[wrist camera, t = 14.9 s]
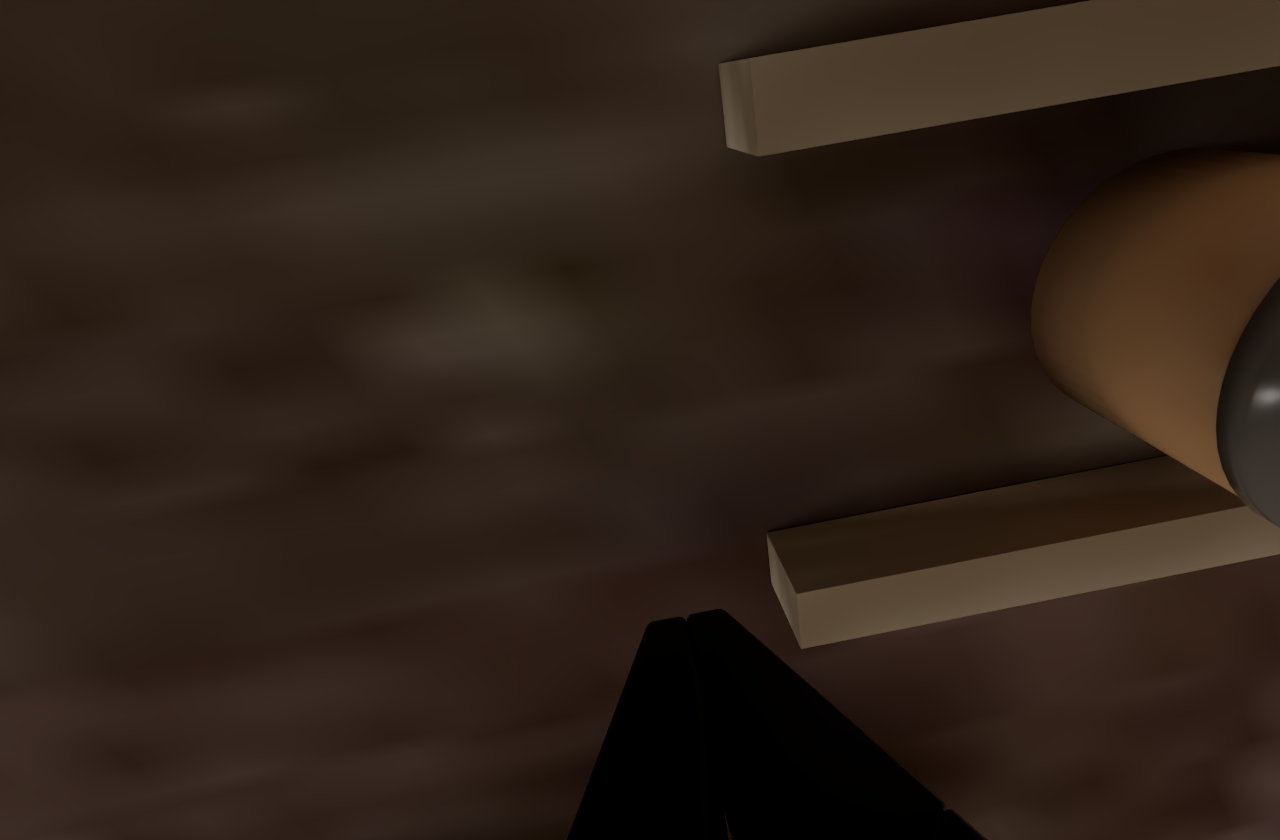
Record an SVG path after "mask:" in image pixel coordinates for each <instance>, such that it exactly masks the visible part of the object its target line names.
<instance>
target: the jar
mask: <svg viewBox="0 0 1280 840" xmlns="http://www.w3.org/2000/svg"><path fill="white" fill-rule="evenodd" d="M1031 333H1032V339H1033V344H1034V349H1035V351H1036V354H1037V357H1038V360H1039V362H1040V364H1041V366H1042V368H1043V370H1044V372H1045V373H1046V375H1047V376H1048V377H1049V379H1050V380H1051V381H1052V382H1053V384H1054V385H1055V386H1056V387H1057V388H1058V389H1060V390H1061V391H1062V392H1063V393H1064V394H1065V395H1067V396H1069V397H1070V398H1072V399H1073V400H1075V401H1077V402H1078V403H1080V404H1082V405H1083V406H1085V407H1087V408H1088V409H1090V410H1092V411H1094V412H1095V413H1097V414H1099V415H1100V416H1102V417H1104V418H1106V419H1107V420H1109V421H1111V422H1112V423H1114V424H1116V425H1117V426H1119V427H1121V428H1123V429H1124V430H1126V431H1128V432H1129V433H1131V434H1133V435H1135V436H1136V437H1138V438H1140V439H1141V440H1143V441H1145V442H1146V443H1148V444H1150V445H1152V446H1153V447H1155V448H1157V449H1158V450H1160V451H1162V452H1164V453H1165V454H1167V455H1169V456H1170V457H1172V458H1174V459H1175V460H1177V461H1179V462H1181V463H1182V464H1184V465H1186V466H1187V467H1189V468H1191V469H1193V470H1194V471H1196V472H1198V473H1199V474H1201V475H1203V476H1205V477H1206V478H1208V479H1210V480H1211V481H1213V482H1215V483H1216V484H1218V485H1220V486H1222V487H1223V488H1225V489H1227V490H1228V491H1230V492H1232V493H1234V494H1235V495H1237V496H1238V497H1239V499H1240V500H1241V501H1242V502H1244V503H1245V504H1246V505H1247V506H1248V507H1249V508H1250V509H1251V510H1252V511H1253V512H1255V513H1257V514H1258V515H1260V516H1261V517H1263V518H1264V519H1266V520H1268V521H1269V522H1271V523H1273V524H1274V525H1276V526H1278V527H1279V528H1280V155H1279V154H1267V153H1255V152H1243V151H1231V150H1219V149H1207V148H1188V149H1181V150H1174V151H1169V152H1166V153H1162V154H1159V155H1155V156H1152V157H1150V158H1147V159H1145V160H1143V161H1140V162H1138V163H1136V164H1134V165H1132V166H1130V167H1128V168H1127V169H1125V170H1123V171H1121V172H1120V173H1118V174H1116V175H1115V176H1114V177H1112V178H1111V179H1109V180H1108V181H1107V182H1105V183H1104V184H1102V185H1101V186H1100V187H1099V188H1098V189H1097V190H1096V191H1094V192H1093V193H1092V194H1091V195H1090V196H1089V197H1088V198H1086V200H1085V201H1084V202H1083V203H1082V204H1081V205H1080V206H1079V207H1078V208H1077V209H1076V210H1075V211H1074V213H1073V214H1072V215H1071V216H1070V218H1069V219H1068V220H1067V222H1066V223H1065V224H1064V226H1063V227H1062V228H1061V230H1060V231H1059V233H1058V234H1057V236H1056V238H1055V239H1054V241H1053V243H1052V244H1051V246H1050V248H1049V250H1048V252H1047V254H1046V257H1045V259H1044V261H1043V263H1042V265H1041V268H1040V271H1039V274H1038V277H1037V280H1036V284H1035V288H1034V293H1033V298H1032V307H1031Z"/></svg>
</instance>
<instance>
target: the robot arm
mask: <svg viewBox="0 0 1280 840" xmlns="http://www.w3.org/2000/svg"><path fill="white" fill-rule="evenodd" d="M724 810H725V813H724ZM725 814H726V818H727V822H728V826H729V830H730V833H731V836H732V839H733V840H987V839H986V838H985V837H983V836H982V835H981V834H980V833H979V832H978V831H977V830H976V829H974V828H973V827H972V826H971V825H970V824H969V823H968V822H967V821H965V820H964V819H963V818H962V817H961V816H960V815H959V814H957V813H956V812H955V811H954V810H953V809H947V810H946V805H945V803H944V802H943V801H942V800H941V799H940V798H939V797H938V796H936V795H935V794H934V793H933V792H932V791H931V790H930V789H928V788H927V787H926V786H925V785H924V784H923V783H922V782H920V781H919V780H918V779H917V778H916V777H915V776H914V775H912V774H911V773H910V772H909V771H908V770H907V769H906V768H904V767H903V766H902V765H901V764H900V763H899V762H898V761H896V760H895V759H894V758H893V757H892V756H891V755H890V754H888V753H887V752H886V751H885V750H884V749H883V748H882V747H880V746H879V745H878V744H877V743H876V742H875V741H874V740H872V739H871V738H870V737H869V736H868V735H867V734H866V733H864V732H863V731H862V730H861V729H860V728H859V727H858V726H856V725H855V724H854V723H853V722H852V721H851V720H850V719H848V718H847V717H846V716H845V715H844V714H843V713H842V712H840V711H839V710H838V709H837V708H836V707H835V706H834V705H832V704H831V703H830V702H829V701H828V700H827V699H826V698H824V697H823V696H822V695H821V694H820V693H819V692H818V691H816V690H815V689H814V688H813V687H812V686H811V685H810V684H808V683H807V682H806V681H805V680H804V679H803V678H802V677H800V676H799V675H798V674H797V673H796V672H795V671H794V670H792V669H791V668H790V667H789V666H788V665H787V664H786V663H784V662H783V661H782V660H781V659H780V658H779V657H778V656H776V655H775V654H774V653H773V652H772V651H771V650H770V649H768V648H767V647H766V646H765V645H764V644H763V643H762V642H760V641H759V640H758V639H757V638H756V637H755V636H754V635H752V634H751V633H750V632H749V631H748V630H747V629H746V628H744V627H743V626H742V625H741V624H740V623H739V622H738V621H736V620H735V619H734V618H733V617H732V616H731V615H730V614H728V613H727V612H726V611H725V610H722V609H715V610H710V611H705V612H700V613H694V614H691V615H689V616H688V618H687V622H686V620H685V619H684V618H683V617H674V618H669V619H664V620H658V621H653V622H651V623H649V624H648V625H647V627H646V629H645V632H644V635H643V637H642V640H641V643H640V645H639V648H638V651H637V653H636V656H635V659H634V661H633V664H632V667H631V670H630V672H629V675H628V678H627V680H626V683H625V686H624V688H623V691H622V694H621V696H620V699H619V702H618V704H617V707H616V710H615V712H614V715H613V718H612V720H611V723H610V726H609V728H608V731H607V734H606V736H605V739H604V742H603V744H602V747H601V750H600V752H599V755H598V758H597V760H596V763H595V766H594V768H593V771H592V774H591V776H590V779H589V782H588V784H587V787H586V790H585V792H584V795H583V798H582V800H581V803H580V806H579V808H578V811H577V814H576V816H575V819H574V822H573V825H572V827H571V830H570V833H569V835H568V838H567V840H728V833H727V826H726V819H725Z"/></svg>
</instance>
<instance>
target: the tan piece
mask: <svg viewBox="0 0 1280 840" xmlns="http://www.w3.org/2000/svg"><path fill="white" fill-rule="evenodd" d="M1275 66H1280V0H1090V1H1084V2H1079V3H1073V4H1067V5H1061V6H1055V7H1049V8H1043V9H1037V10H1031V11H1025V12H1020V13H1014V14H1008V15H1002V16H996V17H990V18H984V19H978V20H972V21H966V22H960V23H955V24H949V25H943V26H937V27H931V28H925V29H919V30H913V31H907V32H901V33H896V34H890V35H884V36H878V37H872V38H866V39H860V40H854V41H848V42H842V43H837V44H831V45H825V46H819V47H813V48H807V49H801V50H795V51H789V52H783V53H777V54H772V55H766V56H760V57H754V58H748V59H742V60H737V61H731V62H726V63H720V64H719V74H720V84H721V94H722V103H723V113H724V123H725V133H726V142H727V147H729V148H732V149H735V150H739V151H742V152H745V153H748V154H752V155H755V156H758V157H759V156H765V155H770V154H776V153H782V152H788V151H793V150H799V149H805V148H810V147H816V146H822V145H828V144H833V143H839V142H845V141H851V140H856V139H862V138H868V137H874V136H879V135H885V134H891V133H897V132H902V131H908V130H914V129H919V128H925V127H931V126H937V125H942V124H948V123H954V122H960V121H965V120H971V119H977V118H983V117H988V116H994V115H1000V114H1006V113H1011V112H1017V111H1023V110H1029V109H1034V108H1040V107H1046V106H1051V105H1057V104H1063V103H1069V102H1074V101H1080V100H1086V99H1092V98H1097V97H1103V96H1109V95H1115V94H1120V93H1126V92H1132V91H1138V90H1143V89H1149V88H1155V87H1161V86H1166V85H1172V84H1178V83H1183V82H1189V81H1195V80H1201V79H1206V78H1212V77H1218V76H1224V75H1229V74H1235V73H1241V72H1247V71H1252V70H1258V69H1264V68H1270V67H1275ZM767 543H768V553H769V563H770V572H771V582H772V585H773V587H774V589H775V592H776V594H777V596H778V598H779V601H780V603H781V605H782V607H783V609H784V612H785V614H786V616H787V618H788V621H789V623H790V625H791V627H792V629H793V632H794V634H795V636H796V638H797V641H798V643H799V645H800V647H801V649H803V648H808V647H813V646H819V645H824V644H829V643H834V642H839V641H844V640H849V639H854V638H859V637H864V636H869V635H874V634H879V633H884V632H889V631H894V630H899V629H904V628H909V627H914V626H919V625H924V624H929V623H934V622H939V621H944V620H949V619H954V618H960V617H965V616H970V615H975V614H980V613H985V612H990V611H995V610H1000V609H1005V608H1010V607H1015V606H1020V605H1025V604H1030V603H1035V602H1040V601H1045V600H1050V599H1055V598H1060V597H1065V596H1070V595H1075V594H1080V593H1085V592H1090V591H1095V590H1100V589H1106V588H1111V587H1116V586H1121V585H1126V584H1131V583H1136V582H1141V581H1146V580H1151V579H1156V578H1161V577H1166V576H1171V575H1176V574H1181V573H1186V572H1191V571H1196V570H1201V569H1206V568H1211V567H1216V566H1221V565H1226V564H1231V563H1236V562H1241V561H1246V560H1252V559H1257V558H1262V557H1267V556H1272V555H1277V554H1280V528H1279V527H1278V526H1276V525H1274V524H1273V523H1271V522H1269V521H1268V520H1266V519H1264V518H1263V517H1261V516H1260V515H1258V514H1257V513H1255V512H1253V511H1252V510H1251V509H1250V508H1249V507H1248V506H1247V505H1246V504H1245V503H1244V502H1242V501H1241V500H1240V499H1239V497H1238V496H1237V495H1235V494H1234V493H1232V492H1230V491H1228V490H1227V489H1225V488H1223V487H1222V486H1220V485H1218V484H1216V483H1215V482H1213V481H1211V480H1210V479H1208V478H1206V477H1205V476H1203V475H1201V474H1199V473H1198V472H1196V471H1194V470H1193V469H1191V468H1189V467H1187V466H1186V465H1184V464H1182V463H1181V462H1179V461H1177V460H1175V459H1174V458H1172V457H1170V456H1169V455H1168V456H1163V457H1157V458H1152V459H1147V460H1142V461H1137V462H1132V463H1126V464H1121V465H1116V466H1111V467H1106V468H1100V469H1095V470H1090V471H1085V472H1080V473H1074V474H1069V475H1064V476H1059V477H1054V478H1048V479H1043V480H1038V481H1033V482H1028V483H1023V484H1017V485H1012V486H1007V487H1002V488H997V489H991V490H986V491H981V492H976V493H971V494H965V495H960V496H955V497H950V498H945V499H939V500H934V501H929V502H924V503H919V504H914V505H908V506H903V507H898V508H893V509H888V510H882V511H877V512H872V513H867V514H862V515H856V516H851V517H846V518H841V519H836V520H830V521H825V522H820V523H815V524H810V525H804V526H799V527H794V528H789V529H784V530H779V531H773V532H768V533H767Z"/></svg>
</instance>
